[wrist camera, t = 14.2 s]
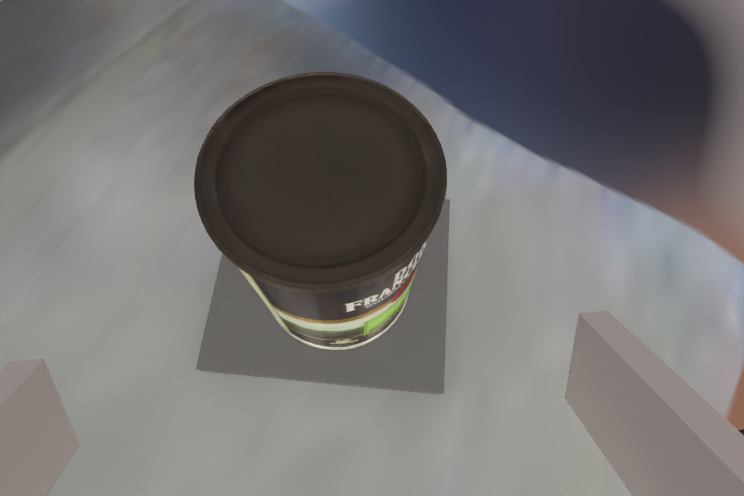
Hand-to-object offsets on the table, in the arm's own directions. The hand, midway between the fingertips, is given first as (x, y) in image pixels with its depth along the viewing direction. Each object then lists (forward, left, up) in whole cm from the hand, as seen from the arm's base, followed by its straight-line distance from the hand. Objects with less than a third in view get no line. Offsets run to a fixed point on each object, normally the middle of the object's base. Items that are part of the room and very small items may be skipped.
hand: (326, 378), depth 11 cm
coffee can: (-1, +9, -18) cm, 20 cm away
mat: (-2, +8, -20) cm, 21 cm away
